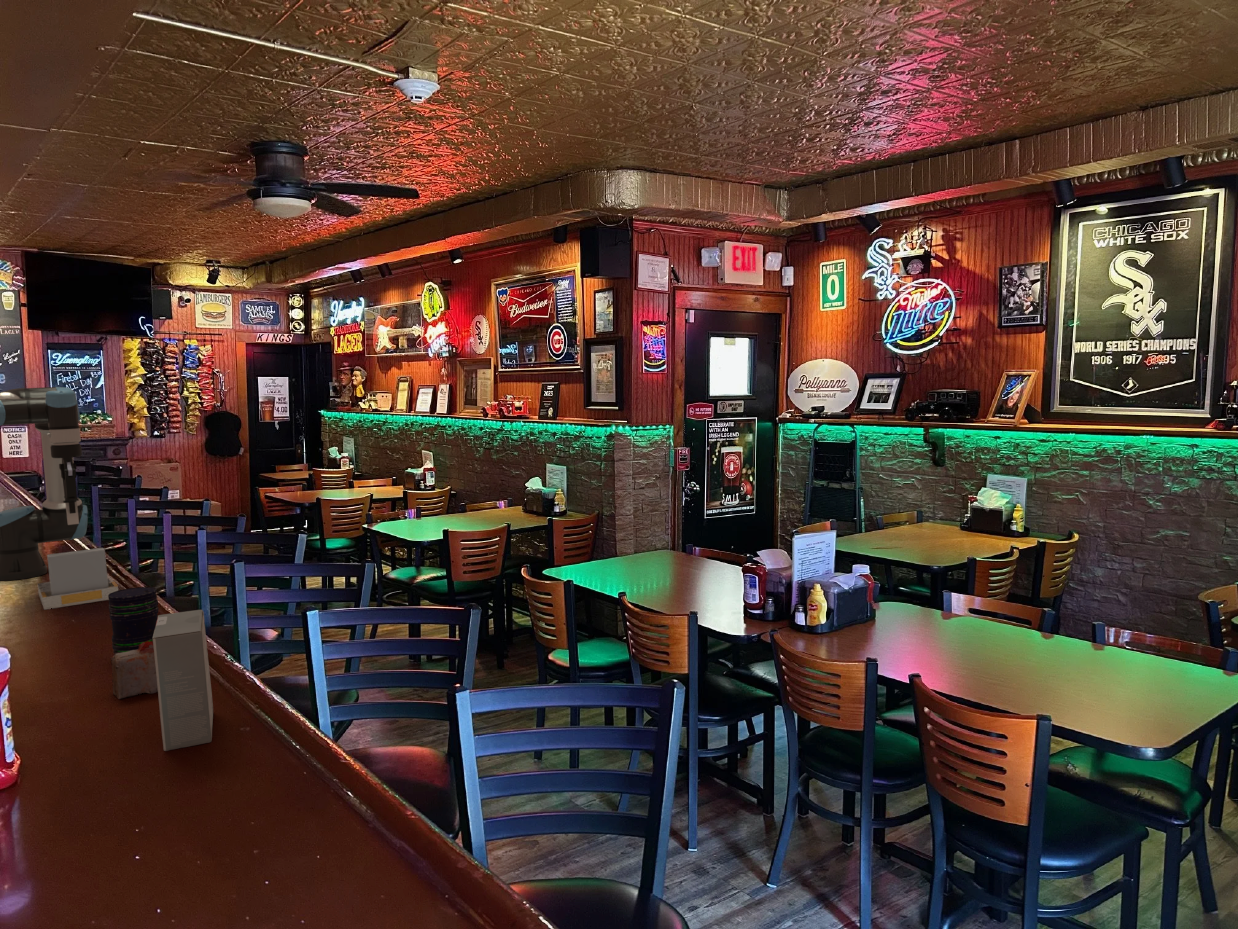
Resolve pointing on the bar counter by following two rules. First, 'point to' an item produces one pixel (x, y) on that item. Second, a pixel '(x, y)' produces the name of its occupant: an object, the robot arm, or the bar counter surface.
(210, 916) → the bar counter surface
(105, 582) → the blanking panel
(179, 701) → the hard drive box
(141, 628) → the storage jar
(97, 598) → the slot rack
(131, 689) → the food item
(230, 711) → the bar counter surface
